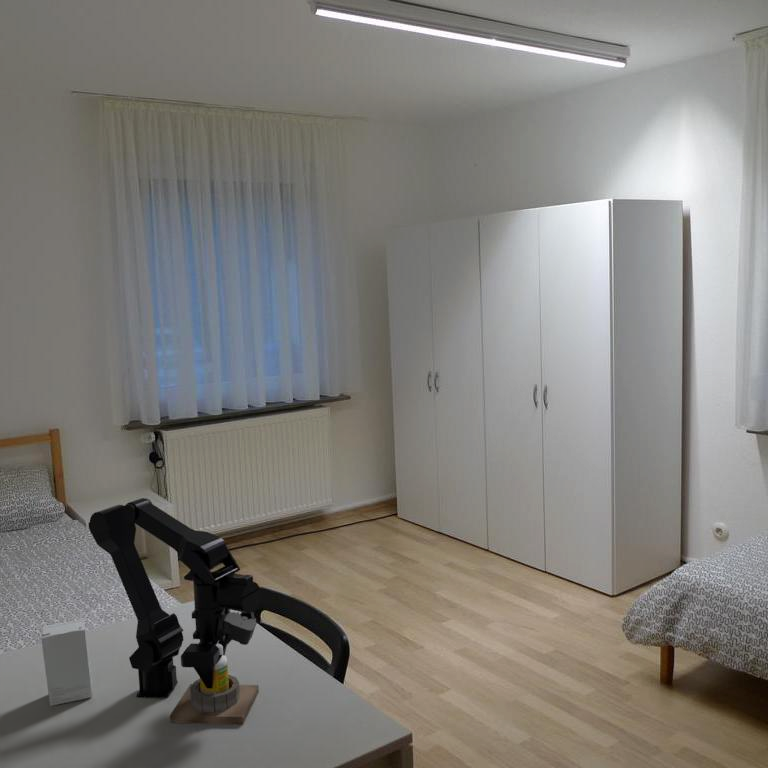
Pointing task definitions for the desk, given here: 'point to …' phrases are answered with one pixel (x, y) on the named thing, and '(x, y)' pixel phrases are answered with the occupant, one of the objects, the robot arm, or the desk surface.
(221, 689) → the supplement bottle
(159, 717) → the desk surface
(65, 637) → the skincare box
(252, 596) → the robot arm
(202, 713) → the collar board
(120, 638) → the desk surface
